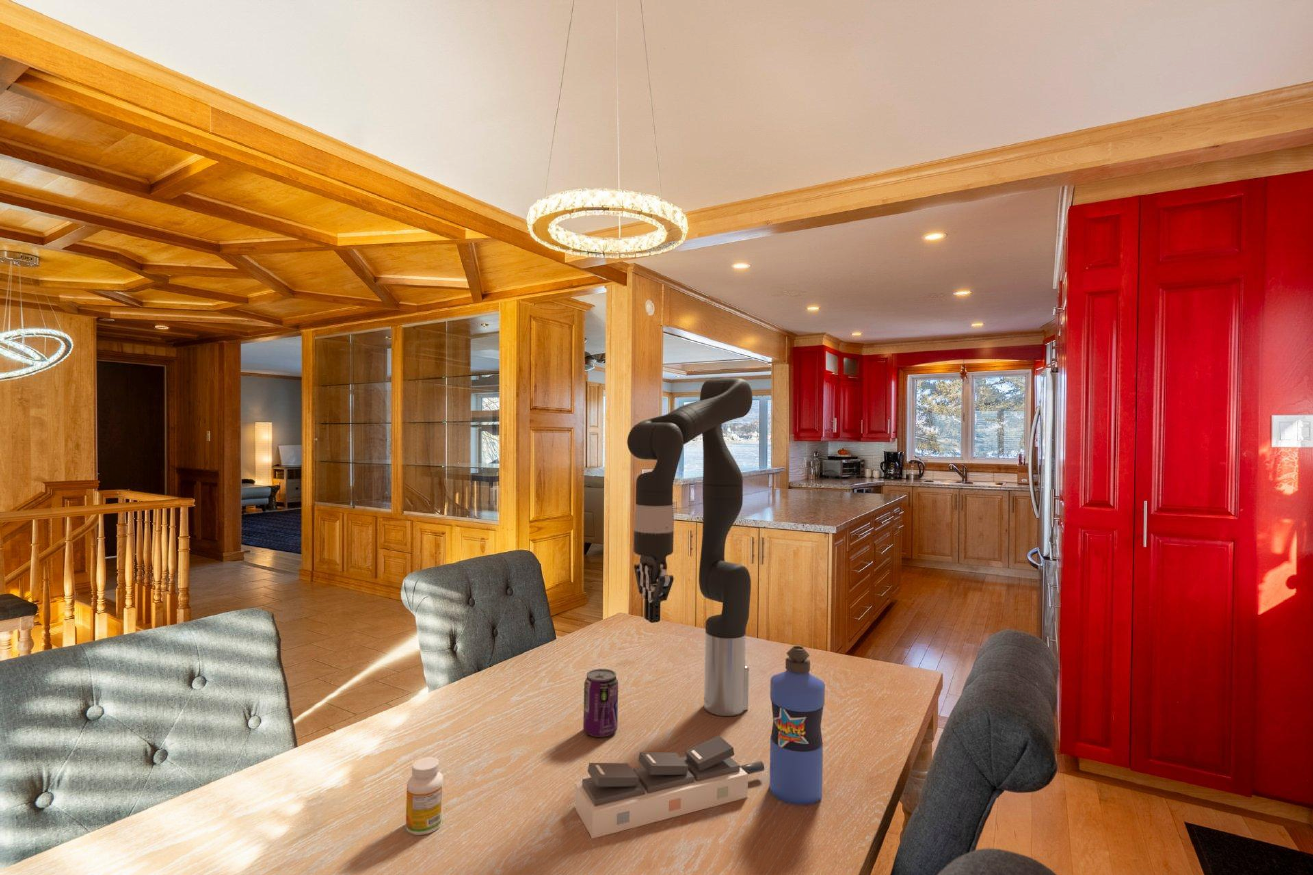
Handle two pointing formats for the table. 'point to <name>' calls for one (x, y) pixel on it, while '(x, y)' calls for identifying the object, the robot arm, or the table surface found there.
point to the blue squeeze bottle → (796, 732)
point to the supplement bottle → (424, 797)
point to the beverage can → (600, 703)
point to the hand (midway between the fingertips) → (652, 620)
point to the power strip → (660, 796)
